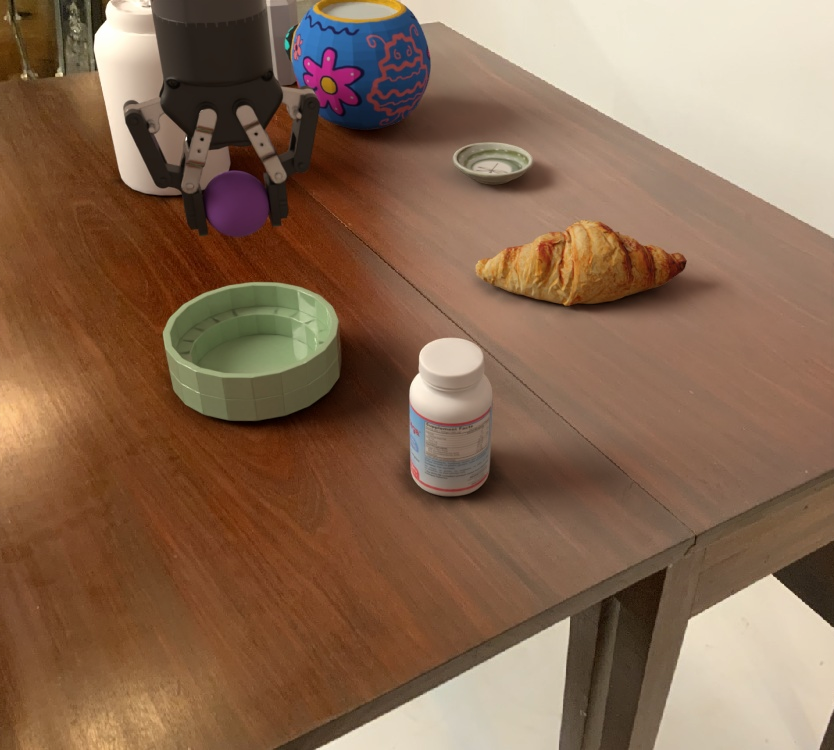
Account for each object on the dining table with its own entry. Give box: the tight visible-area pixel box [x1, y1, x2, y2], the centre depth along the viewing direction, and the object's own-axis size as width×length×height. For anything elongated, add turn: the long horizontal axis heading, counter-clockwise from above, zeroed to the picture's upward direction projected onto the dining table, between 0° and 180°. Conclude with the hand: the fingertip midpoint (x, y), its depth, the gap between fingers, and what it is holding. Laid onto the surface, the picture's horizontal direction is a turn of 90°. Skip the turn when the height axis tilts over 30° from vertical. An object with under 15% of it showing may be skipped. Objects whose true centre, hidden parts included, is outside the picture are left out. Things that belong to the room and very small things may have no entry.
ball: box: [202, 170, 270, 238], centre depth 74 cm, size 5×5×5 cm
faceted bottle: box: [266, 0, 299, 87], centre depth 134 cm, size 6×6×22 cm
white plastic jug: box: [93, 0, 231, 196], centre depth 109 cm, size 12×12×20 cm
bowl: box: [162, 281, 343, 422], centre depth 83 cm, size 14×14×5 cm
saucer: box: [452, 141, 534, 185], centre depth 117 cm, size 10×10×2 cm
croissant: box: [474, 219, 687, 307], centre depth 97 cm, size 21×10×8 cm, turn 96°
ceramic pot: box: [285, 0, 432, 131], centre depth 125 cm, size 18×18×15 cm
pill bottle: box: [408, 337, 494, 497], centre depth 72 cm, size 6×6×11 cm
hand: (239, 225), depth 75 cm, fingers closed on ball, 5 cm apart
